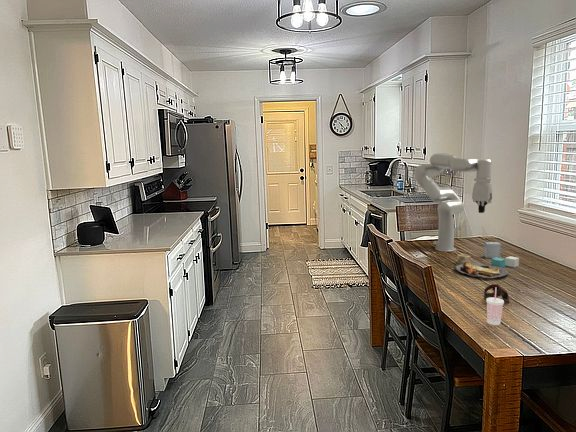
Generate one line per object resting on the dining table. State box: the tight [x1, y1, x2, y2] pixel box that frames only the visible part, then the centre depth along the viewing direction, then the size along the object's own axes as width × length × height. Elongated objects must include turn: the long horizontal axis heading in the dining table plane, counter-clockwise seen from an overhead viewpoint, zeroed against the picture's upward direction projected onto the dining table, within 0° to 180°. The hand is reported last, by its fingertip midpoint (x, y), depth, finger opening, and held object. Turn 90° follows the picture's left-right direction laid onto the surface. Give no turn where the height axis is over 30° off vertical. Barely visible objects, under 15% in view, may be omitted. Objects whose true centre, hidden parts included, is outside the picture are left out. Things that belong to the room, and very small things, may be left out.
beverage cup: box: [486, 287, 505, 326], centre depth 164 cm, size 6×6×14 cm
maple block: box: [456, 253, 471, 265], centre depth 245 cm, size 5×5×4 cm
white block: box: [504, 255, 520, 268], centre depth 239 cm, size 5×5×4 cm
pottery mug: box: [483, 283, 510, 304], centre depth 189 cm, size 12×10×8 cm
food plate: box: [454, 262, 509, 279], centre depth 227 cm, size 25×23×4 cm
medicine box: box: [483, 241, 502, 259], centre depth 256 cm, size 8×4×9 cm, turn 84°
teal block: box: [490, 257, 506, 269], centre depth 237 cm, size 5×5×4 cm
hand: (481, 212), depth 251 cm, fingers closed
